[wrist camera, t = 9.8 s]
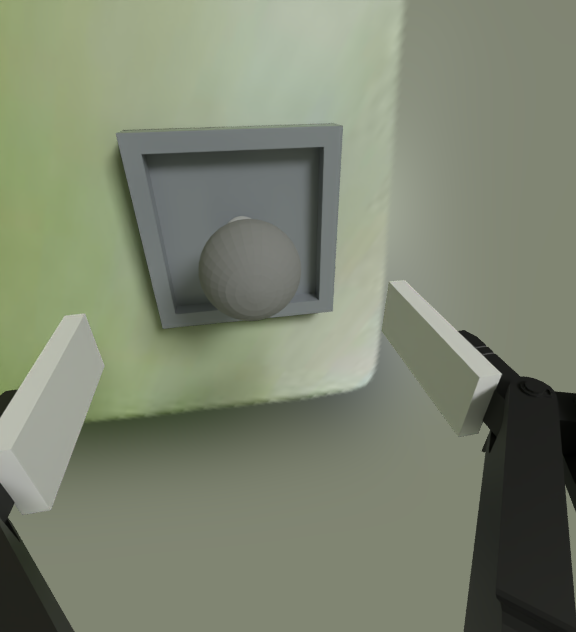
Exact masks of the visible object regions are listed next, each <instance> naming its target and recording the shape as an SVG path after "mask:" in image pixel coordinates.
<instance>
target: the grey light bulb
mask: <svg viewBox="0 0 576 632" xmlns="http://www.w3.org/2000/svg"><path fill="white" fill-rule="evenodd" d="M300 277H301V261H300V258H299V254H298V252H297V250H296V248H295V246H294V244H293V242H292V241H291V240H290V238H289V237H288V236H287V235H286V234H285V233H284V232H283V231H281V230H280V229H279V228H278V227H276V226H274V225H272V224H270V223H268V222H265V221H261V220H258V219H251V218H249V217H245V216H238V217H235V218H233V219H231V220H230V221H229V222H228V224H226V225H224V226H223V227H221V228H219V229H218V230H217V231H216V232H215V233H214V234H213V235H212V236H211V237H210V238H209V240H208V241H207V242H206V244H205V246H204V248H203V250H202V253H201V256H200V260H199V280H200V284H201V287H202V289H203V291H204V293H205V296H206V297H207V298H208V300H209V301H210V302H211V303H212V305H213V306H215V307H216V308H217V309H218V310H219V311H221V312H222V313H224V314H226V315H227V316H230V317H232V318H235V319H238V320H244V321H256V320H262V319H265V318H269V317H271V316H273V315H275V314H277V313H278V312H280V311H281V310H282V309H284V308H285V307H286V306H287V305H288V303H289V302H290V301H291V300H292V298H293V297H294V295H295V293H296V291H297V289H298V286H299V283H300Z"/></svg>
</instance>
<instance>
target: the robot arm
mask: <svg viewBox="0 0 576 632" xmlns="http://www.w3.org/2000/svg"><path fill="white" fill-rule="evenodd" d="M382 332H383V333H384V335H385V336H386V337H387V339H388V340H389V342H390V343H391V345H392V346H393V347H394V349H395V350H396V351H397V353H398V354H399V356H400V357H401V358H402V360H403V361H404V362H405V364H406V365H407V366H408V368H409V369H410V370H411V372H412V374H413V375H414V376H415V378H416V379H417V381H418V382H419V383H420V384H421V386H422V387H423V389H424V390H425V391H426V393H427V394H428V396H429V397H430V399H431V400H432V401H433V403H434V404H435V405H436V407H437V408H438V410H439V411H440V412H441V414H442V415H443V416H444V418H445V419H446V421H447V422H448V423H449V425H450V426H451V427H452V429H453V430H454V432H455V433H456V434H457V436H458V437H462V436H467V435H473V434H478V433H479V431H480V428H481V425H482V423H483V422H484V423H485V424H486V425H487V426H488V428H489V429H490V432H489V435H488V437H487V439H486V442H485V444H484V446H483V449H482V451H483V452H486V453H485V462H484V470H483V478H482V486H481V494H480V502H479V511H478V519H477V527H476V536H475V543H474V552H473V560H472V568H471V576H470V584H469V592H468V601H467V609H466V617H465V625H464V632H576V610H575V600H574V599H575V598H574V586H573V575H572V563H571V551H570V541H569V540H570V539H569V527H568V518H567V517H568V516H567V504H566V494H565V493H566V492H565V485H566V488H567V490H568V493H569V495H570V498H571V501H572V503H573V506H574V508H575V510H576V393H565V392H555V391H554V390H553V389H552V388H551V387H550V386H548V385H547V384H545V383H544V382H542V381H539V380H537V379H534V378H530V377H520V376H519V375H518V374H517V373H516V372H515V371H514V370H512V369H511V368H510V367H509V366H508V365H507V364H506V363H505V362H504V361H503V360H502V359H501V358H500V357H498V356H497V355H496V354H494V353H493V351H492V350H491V349H490V348H489V347H486V345H485V344H484V343H483V342H482V341H481V340H480V339H479V338H478V337H476V336H474V335H473V334H470V333H469V332H467V331H465V330H462V331H457V330H456V329H455V328H454V327H453V326H452V325H451V324H450V323H449V322H447V320H445V319H444V318H443V317H442V316H441V315H440V314H439V313H438V312H437V311H436V310H435V309H434V308H433V307H432V306H431V305H430V304H429V303H428V302H427V301H426V300H425V299H424V298H423V297H422V296H421V295H420V294H418V292H416V291H415V290H414V289H413V288H412V287H411V286H410V285H409V284H408V283H407V282H406V281H405V280H400V281H390V282H389V285H388V292H387V298H386V305H385V312H384V318H383V325H382ZM103 369H104V363H103V361H102V358H101V355H100V352H99V350H98V347H97V344H96V342H95V339H94V336H93V334H92V331H91V328H90V326H89V323H88V320H87V318H86V315H85V314H76V315H66V316H64V317H63V319H62V321H61V322H60V324H59V325H58V327H57V329H56V330H55V332H54V333H53V335H52V337H51V338H50V340H49V341H48V343H47V344H46V346H45V348H44V349H43V351H42V352H41V354H40V356H39V357H38V359H37V360H36V362H35V364H34V365H33V367H32V368H31V370H30V371H29V373H28V375H27V376H26V378H25V379H24V381H23V383H22V384H21V386H20V387H19V389H18V390H11V391H5V392H4V393H3V394H2V395H0V632H74V631H73V629H72V627H71V625H70V623H69V621H68V620H67V618H66V616H65V615H64V613H63V611H62V610H61V608H60V606H59V604H58V602H57V601H56V599H55V597H54V595H53V594H52V592H51V590H50V588H49V587H48V585H47V583H46V582H45V580H44V578H43V576H42V575H41V573H40V571H39V569H38V568H37V566H36V564H35V562H34V561H33V559H32V557H31V555H30V554H29V552H28V550H27V548H26V547H25V545H24V543H23V541H22V540H21V538H20V536H19V535H18V533H17V531H16V529H15V528H14V526H13V524H12V523H11V521H10V520H9V519H8V516H9V514H10V511H11V509H12V507H13V505H14V504H15V506H16V507H17V508H18V510H19V511H20V512H21V514H22V515H26V514H31V513H37V512H43V511H48V510H51V509H52V506H53V503H54V501H55V498H56V495H57V492H58V490H59V487H60V484H61V482H62V479H63V476H64V474H65V471H66V468H67V466H68V463H69V460H70V457H71V454H72V452H73V449H74V447H75V444H76V441H77V439H78V436H79V433H80V430H81V428H82V425H83V422H84V420H85V417H86V414H87V412H88V409H89V406H90V404H91V401H92V398H93V396H94V393H95V390H96V387H97V385H98V382H99V379H100V377H101V374H102V371H103Z"/></svg>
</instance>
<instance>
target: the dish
mask: <svg viewBox="0 0 576 632" xmlns="http://www.w3.org/2000/svg"><path fill="white" fill-rule="evenodd" d="M342 133H343V126H342V125H338V124H334V123H329V124H298V125H268V126H237V127H206V128H175V129H144V130H123V131H120V132H118V133H116V136H117V140H118V145H119V149H120V153H121V157H122V161H123V165H124V170H125V174H126V178H127V182H128V186H129V190H130V194H131V199H132V203H133V207H134V211H135V215H136V219H137V224H138V228H139V232H140V236H141V240H142V244H143V248H144V253H145V257H146V261H147V265H148V269H149V273H150V278H151V282H152V286H153V290H154V294H155V298H156V302H157V307H158V311H159V315H160V319H161V323H162V327H163V329H165V328H175V327H184V326H194V325H204V324H214V323H223V322H233V321H243V320H238V319H235V318H232V317H230V316H227V315H226V314H224V313H222V312H221V311H219V310H218V309H217V308H216V307H215V306H213V305H212V303H211V302H210V301H209V300H208V298H207V297H206V296H205V293H204V291H203V289H202V287H201V284H200V280H199V260H200V256H201V253H202V250H203V248H204V246H205V244H206V242H207V241H208V240H209V238H210V237H211V236H212V235H213V234H214V233H215V232H216V231H217V230H218V229H219V228H221V227H223V226H224V225H226V224H228V222H229V221H230V220H231V219H233V218H235V217H238V216H245V217H249V218H251V219H258V220H261V221H265V222H268V223H270V224H272V225H274V226H276V227H278V228H279V229H280V230H281V231H283V232H284V233H285V234H286V235H287V236H288V237H289V238H290V240H291V241H292V242H293V244H294V246H295V248H296V250H297V252H298V254H299V258H300V261H301V277H300V283H299V286H298V289H297V291H296V293H295V295H294V297H293V298H292V300H291V301H290V302H289V303H288V305H287V306H286V307H285V308H284V309H282V310H281V311H280V312H278V313H277V314H275V315H273V316H271V317H269V318H272V317H282V316H292V315H301V314H311V313H321V312H330V311H333V295H334V277H335V259H336V241H337V223H338V205H339V187H340V169H341V151H342Z"/></svg>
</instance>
